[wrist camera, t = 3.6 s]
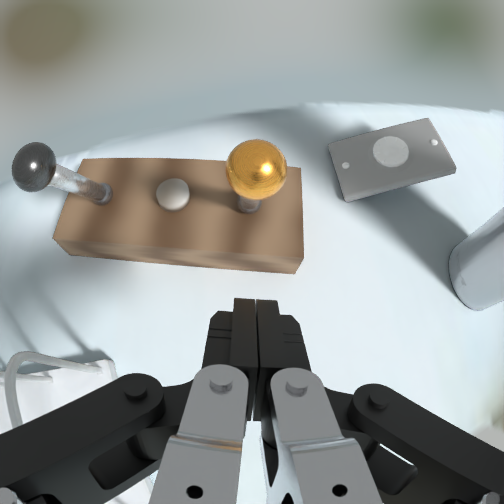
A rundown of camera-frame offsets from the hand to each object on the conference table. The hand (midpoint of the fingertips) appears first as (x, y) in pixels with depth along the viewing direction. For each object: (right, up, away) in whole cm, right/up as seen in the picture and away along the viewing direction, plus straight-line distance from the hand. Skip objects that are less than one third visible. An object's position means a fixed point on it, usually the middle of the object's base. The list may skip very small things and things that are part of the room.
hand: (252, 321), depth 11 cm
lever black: (-14, +8, +17) cm, 23 cm away
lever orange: (0, +7, +17) cm, 19 cm away
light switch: (+16, +12, +26) cm, 33 cm away
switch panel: (-8, +6, +21) cm, 23 cm away
